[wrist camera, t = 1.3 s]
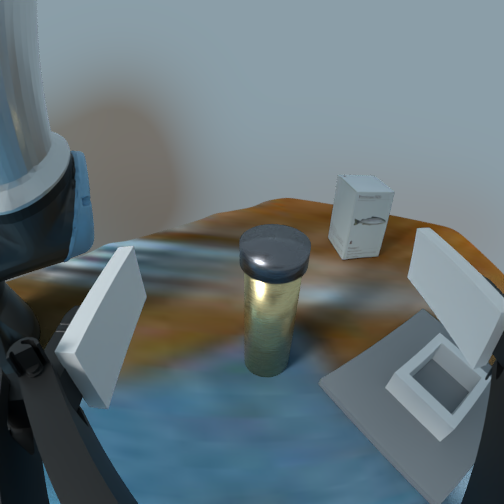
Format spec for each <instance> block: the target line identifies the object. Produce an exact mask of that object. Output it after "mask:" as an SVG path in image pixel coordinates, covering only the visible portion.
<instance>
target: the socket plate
mask: <svg viewBox="0 0 504 504" xmlns="http://www.w3.org/2000/svg"><path fill="white" fill-rule="evenodd" d="M491 367H492V366H491V365H490V364H489V363H487V364H486V365H485V366H482V367H479V368H477V369H474V370H473V369H472V368H471V366H470V365H469V363H468V362H467V360H466V358H465V357H464V355H463V354H462V352H461V351H460V349H459V348H458V346H457V345H456V343H455V342H454V340H453V339H452V337H451V336H450V334H449V333H448V332H447V330H446V329H445V327H444V326H443V324H441V323H440V322H439V321H438V320H437V319H435V318H434V317H433V316H432V315H430V314H429V313H428V312H427V311H425V310H424V309H422V310H420V311H419V312H418V313H417V314H415V315H414V316H413V317H411V318H410V319H409V320H408V321H406V322H405V323H404V324H402V325H401V326H400V327H398V328H397V329H395V330H394V331H393V332H391V333H390V334H389V335H387V336H386V337H384V338H383V339H382V340H380V341H379V342H377V343H376V344H374V345H373V346H372V347H370V348H369V349H367V350H366V351H364V352H363V353H361V354H360V355H358V356H357V357H355V358H354V359H352V360H351V361H349V362H347V363H346V364H344V365H343V366H341V367H340V368H338V369H336V370H335V371H333V372H332V373H330V374H328V375H327V376H325V377H323V378H322V379H320V381H319V385H320V387H321V388H322V389H323V390H324V391H325V392H326V393H327V394H328V396H329V397H330V398H331V399H332V400H333V401H334V402H335V403H336V404H337V406H338V407H339V408H340V409H341V410H342V411H343V412H344V413H345V414H346V415H347V417H348V418H349V419H350V420H351V421H352V422H353V423H354V424H355V425H356V426H357V428H358V429H359V430H360V431H361V432H362V433H363V434H364V435H365V436H366V437H367V438H368V439H369V441H370V442H371V443H372V444H373V445H374V446H375V447H376V448H377V449H378V450H379V451H380V452H381V453H382V454H383V455H384V457H385V458H386V459H387V460H388V461H389V462H390V463H391V464H392V465H393V466H394V467H395V468H396V469H397V470H398V471H399V472H400V473H401V474H402V475H403V476H404V477H405V478H406V480H407V481H408V482H409V483H410V484H411V485H412V486H413V487H414V488H415V489H416V490H417V491H418V492H419V493H420V494H421V495H422V496H423V497H424V498H425V499H426V500H427V501H428V502H429V503H430V504H441V503H442V502H443V501H444V500H445V499H446V497H447V496H448V495H449V494H450V493H451V492H452V491H453V489H454V488H455V487H456V486H457V485H458V483H459V482H460V481H461V480H462V478H463V477H464V476H465V475H466V473H467V472H468V471H469V469H470V468H471V467H472V465H473V464H474V463H475V460H476V456H477V452H478V448H479V444H480V440H481V436H482V431H483V427H484V422H485V417H486V411H487V405H488V399H489V393H490V385H491V381H490V380H491V377H492V375H490V376H489V378H488V379H487V380H485V378H486V375H487V374H488V372H489V370H490V369H491Z"/></svg>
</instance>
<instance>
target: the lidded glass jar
mask: <svg viewBox="0 0 504 504" xmlns="http://www.w3.org/2000/svg"><path fill="white" fill-rule="evenodd" d="M310 248H311V243H310V240H309V239H308V237H307V236H306V235H305V234H304V233H302V232H301V231H299V230H297V229H295V228H292V227H289V226H285V225H278V224H267V225H260V226H256V227H253V228H251V229H249V230H247V231H246V232H244V233H243V235H242V236H241V238H240V266H241V268H242V270H243V271H244V331H245V364H246V367H247V368H248V369H249V371H251V372H252V373H253V374H255V375H257V376H261V377H273V376H276V375H278V374H280V373H282V372H283V371H284V370H285V368H286V367H287V364H288V359H289V353H290V347H291V342H292V336H293V330H294V323H295V317H296V311H297V304H298V298H299V291H300V285H301V278H302V276H303V275H304V274H305V272H306V271H307V268H308V262H309V255H310Z"/></svg>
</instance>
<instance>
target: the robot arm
mask: <svg viewBox="0 0 504 504" xmlns="http://www.w3.org/2000/svg"><path fill="white" fill-rule="evenodd" d="M93 242H94V223H93V213H92V205H91V201H90V188H89V180H88V172H87V165H86V160H85V156H84V154H83V153H82V152H80V151H70V148H69V145H68V143H67V141H66V140H65V139H64V138H63V137H62V136H61V135H59V134H57V133H55V132H52V131H51V129H50V124H49V119H48V114H47V108H46V103H45V96H44V89H43V82H42V74H41V66H40V56H39V44H38V28H37V0H0V504H49V499H48V494H47V489H46V483H45V476H44V470H43V463H44V466H45V468H46V471H47V474H48V476H49V478H50V481H51V483H52V485H53V488H54V490H55V492H56V494H57V497H58V499H59V501H60V503H61V504H138V503H137V501H136V500H135V498H134V497H133V495H132V494H131V493H130V491H129V490H128V488H127V487H126V485H125V484H124V482H123V481H122V479H121V478H120V476H119V474H118V473H117V471H116V470H115V468H114V466H113V465H112V463H111V461H110V460H109V458H108V456H107V455H106V453H105V451H104V449H103V448H102V446H101V444H100V442H99V441H98V439H97V437H96V435H95V433H94V431H93V429H92V427H91V426H90V424H89V422H88V420H87V418H86V416H85V414H84V411H83V410H82V408H81V407H80V406H79V405H80V403H81V400H82V397H83V398H84V400H85V401H86V403H87V404H88V406H89V407H94V408H102V409H108V408H109V405H110V401H111V398H112V395H113V392H114V388H115V385H116V382H117V379H118V376H119V373H120V370H121V367H122V364H123V361H124V358H125V355H126V352H127V349H128V346H129V343H130V341H131V338H132V335H133V332H134V329H135V327H136V324H137V321H138V319H139V316H140V313H141V311H142V308H143V305H144V303H145V300H146V297H147V296H146V292H145V288H144V285H143V281H142V277H141V273H140V270H139V266H138V262H137V258H136V253H135V249H134V246H127V247H118V249H117V250H116V252H115V253H114V255H113V256H112V257H111V259H110V260H109V262H108V263H107V265H106V266H105V268H104V269H103V271H102V273H101V274H100V276H99V277H98V279H97V280H96V282H95V283H94V285H93V287H92V288H91V290H90V291H89V293H88V295H87V296H86V298H85V299H84V301H83V303H82V304H81V306H74V307H73V308H72V309H71V310H70V311H68V312H67V313H66V314H65V316H64V317H63V319H62V321H61V322H60V325H59V326H58V327H57V329H56V332H54V334H53V336H52V337H51V339H50V341H49V343H48V344H47V346H46V348H45V350H43V349H42V347H41V345H40V343H39V337H40V327H39V323H38V320H37V318H36V317H35V315H34V313H33V311H32V309H31V308H30V307H29V305H28V304H27V303H26V302H24V301H23V300H22V299H21V298H20V297H19V296H18V295H17V294H16V293H15V292H14V291H13V290H12V289H11V288H10V287H9V286H8V285H7V284H6V282H5V280H7V279H10V278H14V277H16V276H20V275H23V274H26V273H29V272H32V271H35V270H38V269H42V268H45V267H48V266H51V265H54V264H58V263H61V262H67V261H68V260H69V259H70V258H72V257H75V256H78V255H80V254H83V253H85V252H87V251H88V250H89V249H90V248H91V247H92V245H93ZM408 279H409V280H410V281H411V283H412V284H413V285H414V286H415V288H416V289H417V290H418V292H419V293H420V294H421V296H422V297H423V298H424V300H425V301H426V302H427V304H428V305H429V306H430V308H431V309H432V310H433V312H434V313H435V315H436V316H437V317H438V319H439V320H440V322H441V323H442V324H443V326H444V327H445V329H446V330H447V332H448V333H449V334H450V336H451V337H452V339H453V340H454V342H455V343H456V345H457V346H458V348H459V349H460V351H461V352H462V354H463V355H464V357H465V358H466V360H467V362H468V363H469V365H470V366H471V368H472V369H473V370H474V369H477V368H479V367H482V366H485V365H486V364H487V362H488V361H489V359H490V357H491V355H492V353H493V355H494V356H495V358H496V360H495V362H494V364H493V365H492V367H491V369H490V370H489V372H488V374H487V375H486V378H485V380H487V379H488V378H489V376H490V375H492V377H491V380H490V381H491V385H490V393H489V399H488V405H487V411H486V417H485V422H484V427H483V431H482V436H481V440H480V444H479V448H478V452H477V456H476V460H475V463H474V467H473V470H472V473H471V477H470V480H469V483H468V486H467V489H466V492H465V494H464V497H463V500H462V503H461V504H504V294H502V292H501V291H500V290H499V289H498V288H496V286H495V285H494V284H493V283H492V282H491V281H490V280H489V279H488V278H486V277H484V276H483V275H481V274H480V273H479V272H478V271H477V270H476V269H475V268H474V267H473V266H472V265H471V264H470V263H469V262H467V261H466V260H465V259H464V258H463V257H462V256H461V255H460V254H459V253H458V252H457V251H456V250H454V249H453V248H452V247H451V246H450V245H449V244H448V243H447V242H446V241H444V240H443V239H442V238H441V237H440V236H439V235H438V234H436V233H435V232H434V231H433V230H432V229H431V228H417V232H416V238H415V243H414V248H413V254H412V259H411V263H410V268H409V273H408ZM42 461H43V462H42Z"/></svg>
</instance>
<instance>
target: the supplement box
mask: <svg viewBox="0 0 504 504" xmlns="http://www.w3.org/2000/svg"><path fill="white" fill-rule="evenodd" d="M393 197H394V191H393V190H392V189H391V188H389V187H388V186H387V185H386V184H384V183H383V182H382V181H380V180H379V179H378V178H376V177H375V176H367V175H366V176H365V175H338V178H337V185H336V191H335V199H334V205H333V211H332V217H331V223H330V229H329V235H328V238H329V240H330V241H331V243H332V245H333V246H334V248H335V249H336V251H337V252H338V254H339V255H340V257H341V258H342V260H345V259H352V258H363V257H377V256H378V255H379V251H380V248H381V244H382V241H383V237H384V233H385V230H386V226H387V222H388V218H389V214H390V210H391V205H392V201H393Z"/></svg>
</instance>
